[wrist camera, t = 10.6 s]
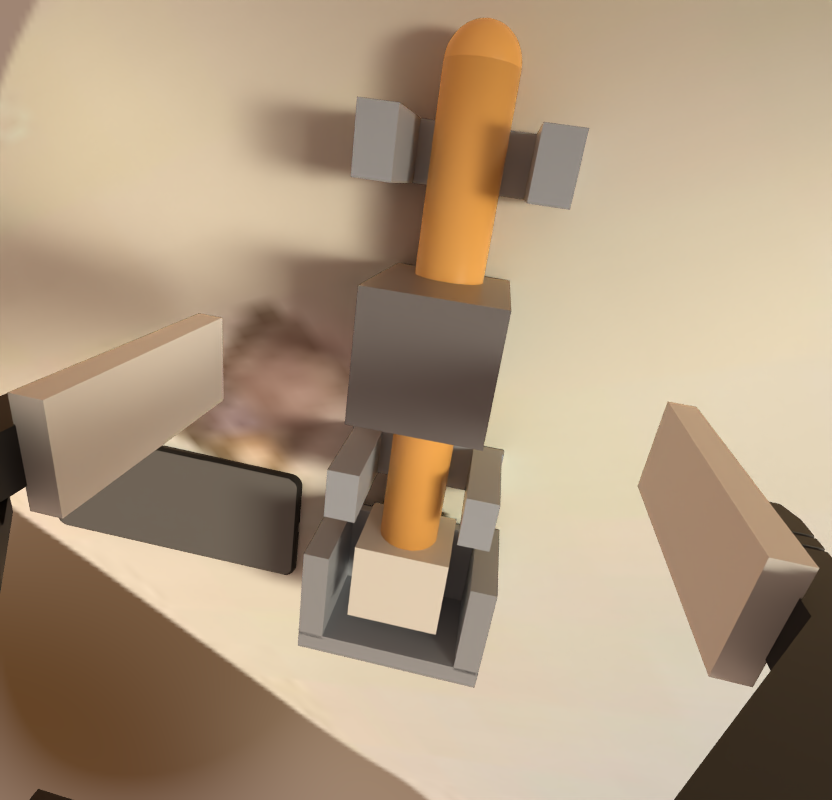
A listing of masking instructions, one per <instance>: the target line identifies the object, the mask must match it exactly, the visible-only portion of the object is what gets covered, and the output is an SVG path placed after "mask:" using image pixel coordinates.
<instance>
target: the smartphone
mask: <svg viewBox="0 0 832 800" xmlns="http://www.w3.org/2000/svg"><path fill="white" fill-rule="evenodd" d="M301 496H302V482H301V480H300V479H299V478H298V477H297V476H296V475H294V474H290V473H285V472H281V471H276V470H272V469H267V468H262V467H258V466H253V465H249V464H244V463H240V462H235V461H231V460H226V459H222V458H217V457H213V456H208V455H204V454H199V453H195V452H190V451H186V450H181V449H177V448H172V447H167V446H163V445H162V446H161V447H159V448H158V449H156V450H155V451H154V452H152V453H151V454H150V455H148V456H147V457H146V458H144V459H143V460H142V461H140V462H139V463H137V464H136V465H135V466H133V467H132V468H131V469H129V470H128V471H127V472H125V473H124V474H123V475H121V476H120V477H119V478H117V479H116V480H114V481H113V482H112V483H110V484H109V485H108V486H106V487H105V488H104V489H102V490H101V491H100V492H98V493H97V494H95V495H94V496H93V497H91V498H90V499H89V500H87V501H86V502H85V503H83V504H82V505H81V506H79V507H78V508H76V509H75V510H74V511H72V512H71V513H70V514H68V515H67V516H66V517H64V518H63V519H62V518H59V519H60V520H61V521H62V522H63V523H64V524H67V525H71V526H75V527H79V528H84V529H88V530H92V531H97V532H101V533H105V534H110V535H114V536H119V537H123V538H127V539H132V540H136V541H140V542H145V543H149V544H153V545H158V546H162V547H166V548H171V549H175V550H180V551H184V552H188V553H193V554H197V555H201V556H206V557H210V558H214V559H219V560H223V561H228V562H232V563H236V564H241V565H245V566H249V567H254V568H258V569H262V570H267V571H271V572H276V573H280V574H284V575H287V574H290V573H292V572H293V571H294V569H295V568H296V560H297V547H298V534H299V532H298V524H299V521H300V509H301V508H300V507H301V505H300V504H301V503H300V502H301V500H300V499H301Z"/></svg>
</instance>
